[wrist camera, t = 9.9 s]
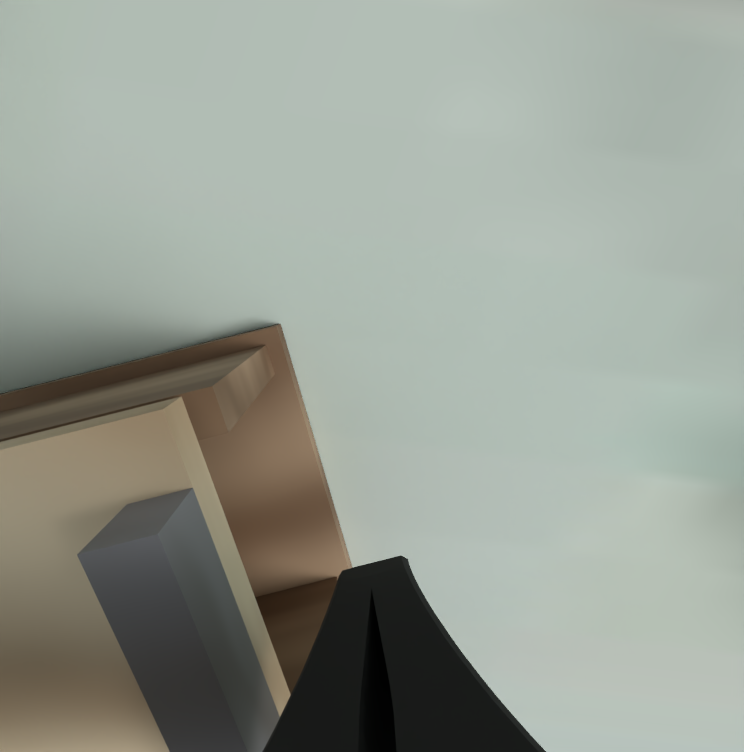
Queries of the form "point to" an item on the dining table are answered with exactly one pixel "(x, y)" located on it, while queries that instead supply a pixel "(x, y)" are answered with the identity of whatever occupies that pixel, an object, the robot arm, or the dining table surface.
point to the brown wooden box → (230, 464)
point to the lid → (126, 596)
